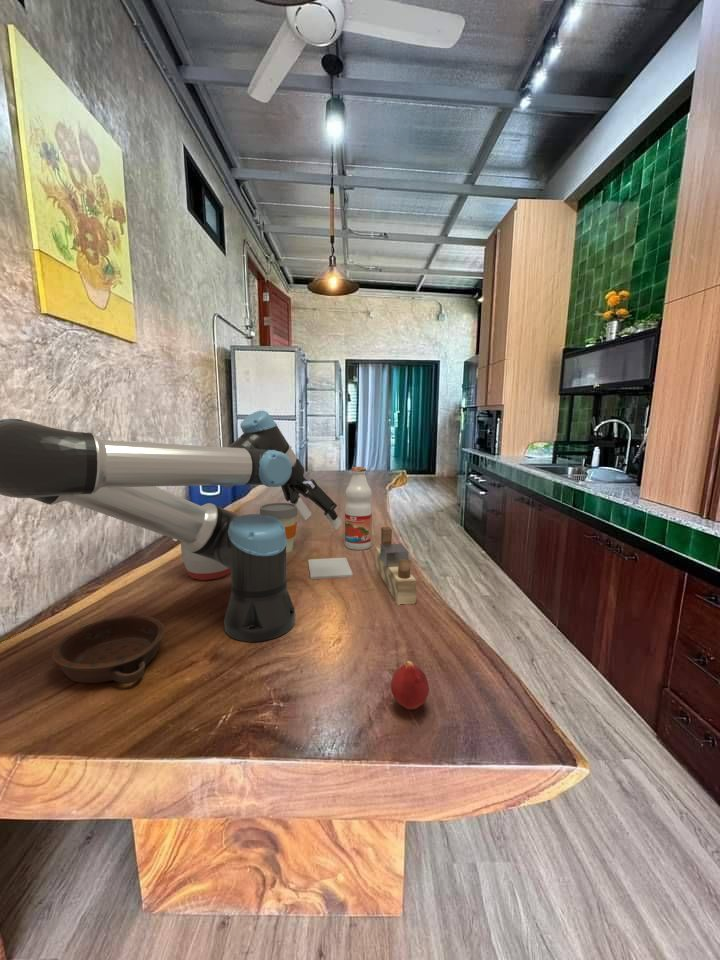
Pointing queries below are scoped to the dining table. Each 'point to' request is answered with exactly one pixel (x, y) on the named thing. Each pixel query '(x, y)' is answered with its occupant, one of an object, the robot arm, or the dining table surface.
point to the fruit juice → (358, 511)
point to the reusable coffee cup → (283, 519)
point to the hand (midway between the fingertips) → (322, 521)
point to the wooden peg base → (396, 574)
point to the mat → (329, 568)
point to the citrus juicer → (202, 565)
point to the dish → (110, 649)
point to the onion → (410, 686)
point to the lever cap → (392, 554)
